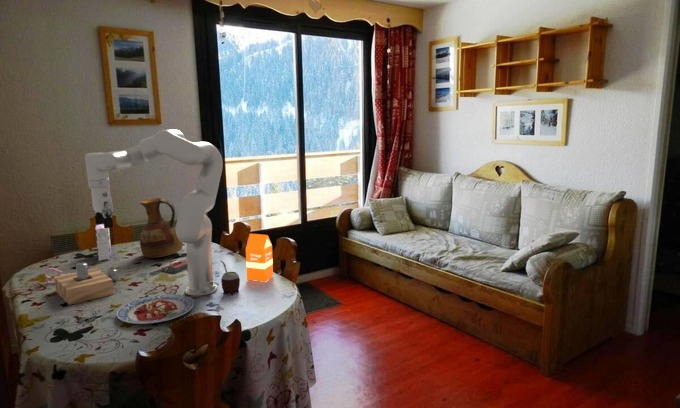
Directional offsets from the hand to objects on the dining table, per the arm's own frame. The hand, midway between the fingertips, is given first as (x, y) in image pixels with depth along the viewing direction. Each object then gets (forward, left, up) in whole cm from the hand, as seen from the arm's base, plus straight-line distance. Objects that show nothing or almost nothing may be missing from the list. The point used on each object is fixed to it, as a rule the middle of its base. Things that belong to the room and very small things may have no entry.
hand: (104, 226), depth 186 cm
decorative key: (+22, +9, -27) cm, 35 cm away
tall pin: (+2, +9, -26) cm, 28 cm away
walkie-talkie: (+4, -28, -27) cm, 39 cm away
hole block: (+2, +9, -26) cm, 28 cm away
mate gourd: (-40, -33, -27) cm, 58 cm away
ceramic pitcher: (+31, -35, -27) cm, 54 cm away
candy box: (+49, -13, -27) cm, 57 cm away
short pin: (+8, -4, -26) cm, 28 cm away
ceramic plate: (-38, -4, -27) cm, 47 cm away
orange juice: (-34, -51, -27) cm, 67 cm away
